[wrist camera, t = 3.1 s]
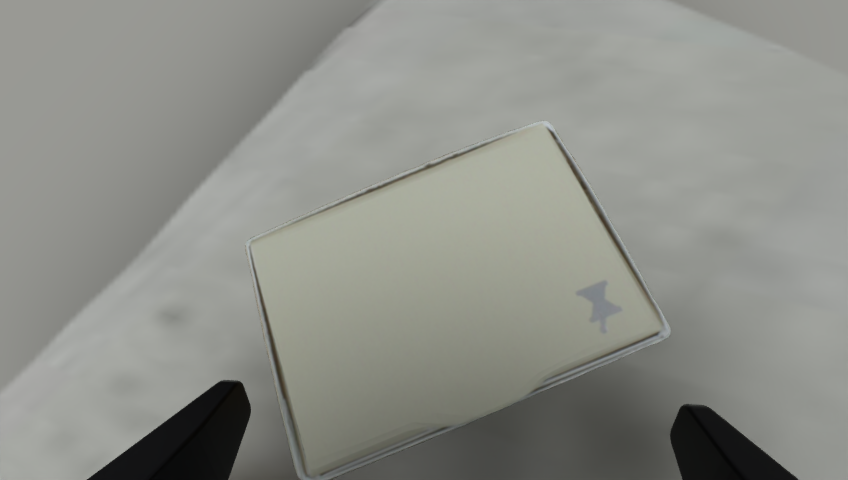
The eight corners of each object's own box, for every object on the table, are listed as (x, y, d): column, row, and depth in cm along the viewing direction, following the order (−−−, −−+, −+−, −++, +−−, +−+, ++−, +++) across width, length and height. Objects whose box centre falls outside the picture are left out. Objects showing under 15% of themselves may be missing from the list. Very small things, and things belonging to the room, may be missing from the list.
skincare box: (498, 261, 19) (566, 101, 7) (539, 350, 18) (702, 330, 6) (371, 312, 19) (228, 232, 7) (403, 406, 17) (294, 500, 6)
